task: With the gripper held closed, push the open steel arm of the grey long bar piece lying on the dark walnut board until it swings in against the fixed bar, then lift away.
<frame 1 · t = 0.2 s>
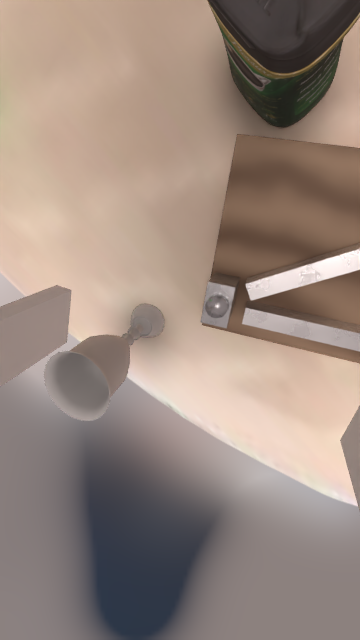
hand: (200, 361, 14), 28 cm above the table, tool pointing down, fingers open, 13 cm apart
chalice: (148, 320, 45), on the table
cutting board: (349, 262, 36), on the table
grey long bar piece: (242, 287, 38), resting on cutting board
coffee jar: (281, 72, 32), on the table
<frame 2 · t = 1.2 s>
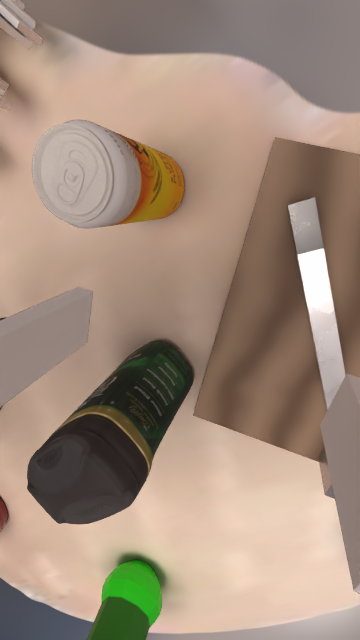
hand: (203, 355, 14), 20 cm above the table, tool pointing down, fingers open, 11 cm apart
beer can: (157, 187, 32), on the table
plastic bottle: (141, 569, 54), on the table
cutting board: (333, 329, 32), on the table
grey long bar piece: (342, 438, 34), resting on cutting board
coffee jar: (156, 371, 40), on the table
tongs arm: (324, 334, 29), point 3 cm above the table, hinge at 30.0°
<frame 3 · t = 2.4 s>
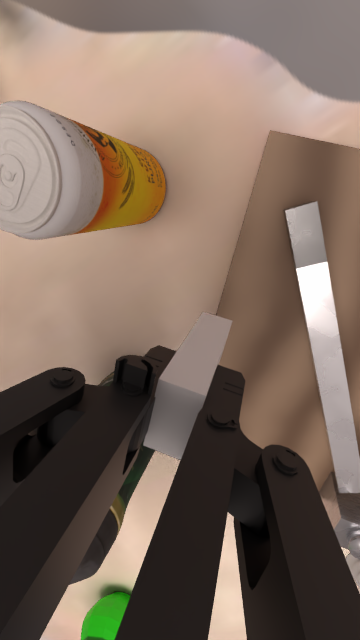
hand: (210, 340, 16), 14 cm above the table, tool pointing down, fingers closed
beer can: (136, 187, 28), on the table
plastic bottle: (126, 601, 50), on the table
cutting board: (336, 350, 28), on the table
grey long bar piece: (345, 472, 30), resting on cutting board
coffee jar: (138, 393, 36), on the table
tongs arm: (326, 359, 25), point 3 cm above the table, hinge at 30.0°
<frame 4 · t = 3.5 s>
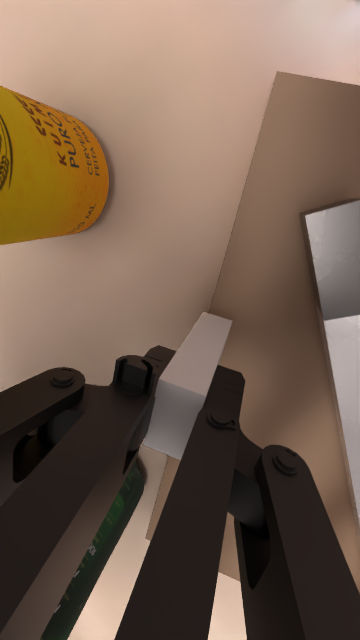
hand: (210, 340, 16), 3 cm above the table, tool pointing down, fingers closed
beer can: (69, 178, 18), on the table
coffee jar: (92, 464, 26), on the table
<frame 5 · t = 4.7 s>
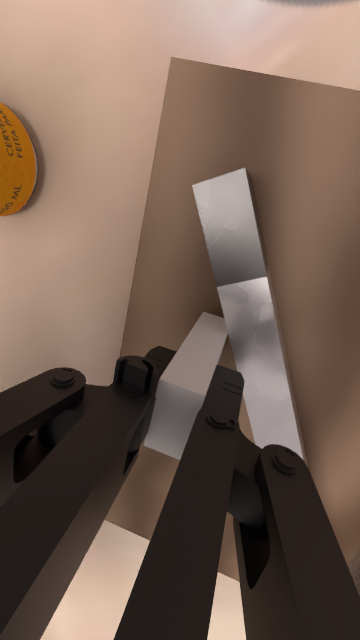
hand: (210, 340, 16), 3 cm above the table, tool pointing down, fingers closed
beer can: (4, 162, 19), on the table
cutting board: (297, 404, 19), on the table
grey long bar piece: (313, 573, 21), resting on cutting board
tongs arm: (277, 426, 16), point 3 cm above the table, hinge at 29.2°, touching gripper
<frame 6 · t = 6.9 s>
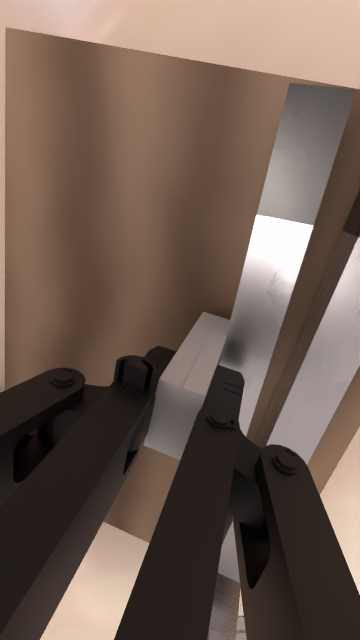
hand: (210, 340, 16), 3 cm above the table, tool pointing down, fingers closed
chalice: (255, 634, 27), on the table
cutting board: (168, 360, 20), on the table
grey long bar piece: (196, 524, 22), resting on cutting board
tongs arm: (236, 384, 16), point 3 cm above the table, hinge at 3.3°, touching gripper
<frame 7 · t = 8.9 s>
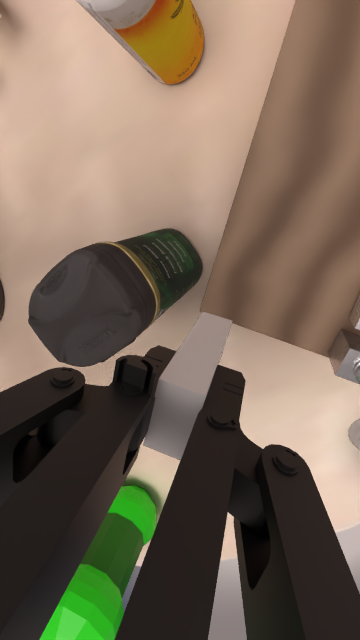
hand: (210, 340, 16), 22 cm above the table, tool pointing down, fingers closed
beer can: (175, 50, 31), on the table
plastic bottle: (137, 496, 53), on the table
cutting board: (352, 206, 31), on the table
grey long bar piece: (354, 328, 33), resting on cutting board
coffee jar: (163, 268, 38), on the table
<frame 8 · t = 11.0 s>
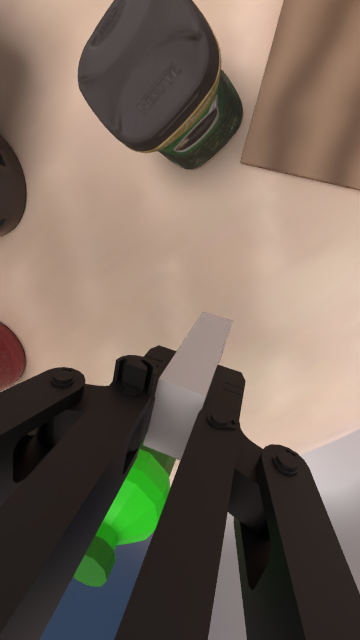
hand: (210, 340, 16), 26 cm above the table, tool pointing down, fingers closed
plastic bottle: (169, 405, 51), on the table
coffee jar: (198, 123, 36), on the table
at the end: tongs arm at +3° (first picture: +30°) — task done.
